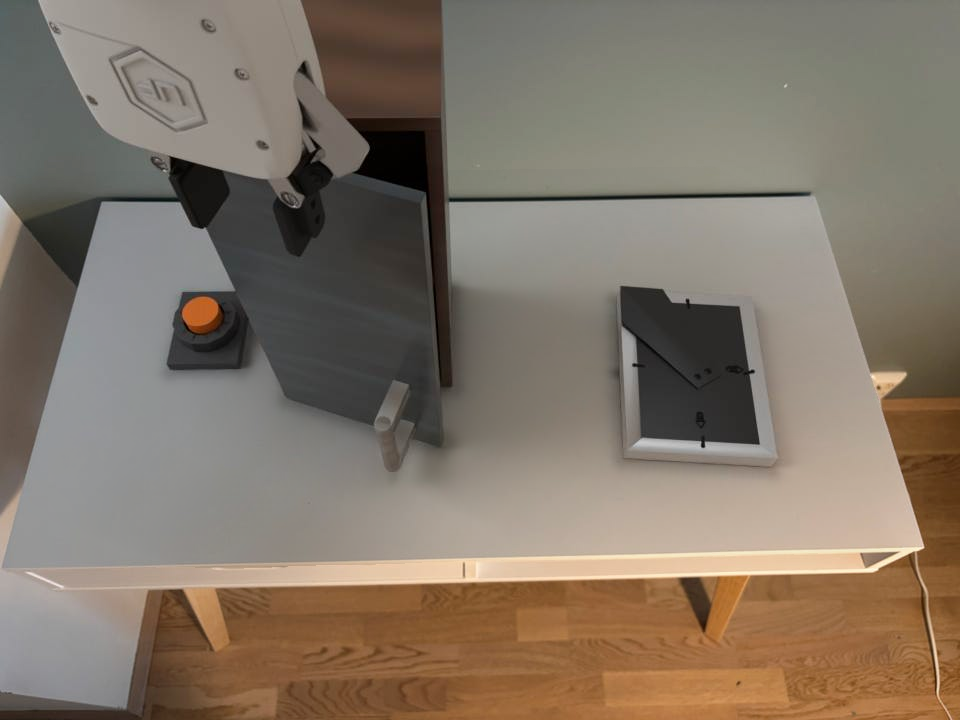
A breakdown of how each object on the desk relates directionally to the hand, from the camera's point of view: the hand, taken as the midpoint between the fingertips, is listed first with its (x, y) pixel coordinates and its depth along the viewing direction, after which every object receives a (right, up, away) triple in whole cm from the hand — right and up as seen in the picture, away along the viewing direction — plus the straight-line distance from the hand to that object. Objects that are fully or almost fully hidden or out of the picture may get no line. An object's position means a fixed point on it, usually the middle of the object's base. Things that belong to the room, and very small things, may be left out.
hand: (258, 221), depth 41 cm
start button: (-19, -3, +43) cm, 47 cm away
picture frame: (+36, -10, +43) cm, 57 cm away
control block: (-19, -4, +45) cm, 49 cm away
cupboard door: (-1, -16, +38) cm, 42 cm away
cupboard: (0, -5, +45) cm, 45 cm away
